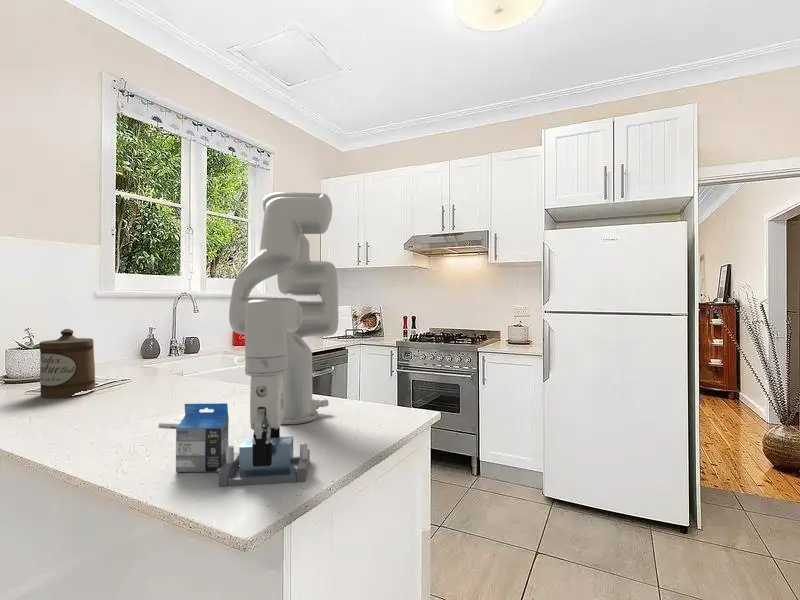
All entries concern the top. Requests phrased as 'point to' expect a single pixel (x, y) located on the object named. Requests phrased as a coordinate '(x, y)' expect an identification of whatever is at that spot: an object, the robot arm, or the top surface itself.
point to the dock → (234, 462)
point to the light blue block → (280, 458)
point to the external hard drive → (176, 420)
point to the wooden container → (66, 365)
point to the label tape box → (202, 438)
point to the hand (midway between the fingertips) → (267, 455)
